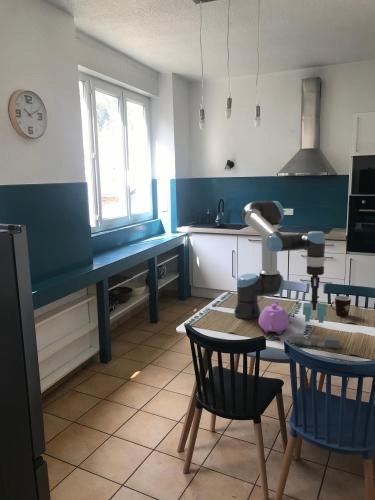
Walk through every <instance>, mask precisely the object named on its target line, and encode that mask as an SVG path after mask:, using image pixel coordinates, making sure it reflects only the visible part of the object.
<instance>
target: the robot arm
mask: <svg viewBox="0 0 375 500" xmlns="http://www.w3.org/2000/svg"><path fill="white" fill-rule="evenodd" d="M284 211H285V210H284V208H283V206H282V204H281V202H279V201H277V200H263V201H262V200H261V201H260V200H259V201H251V202H249V203H247V204H246V205H245V206H244V207H243V209H242V212H241V218H242V220H243V222H244V223H245V225H247V226H249V227H252V229H253V230H255V232H257V233H258V234H259V235H260V236H261V270H260V271H259V272H258V273H259V274H257V273H245V274H242V275H239V276H238V277H237V282H236V289H237V296H236V297H237V300H236V301H237V302H236V303H235V307H234V311H233V314H234V316H235V317H236V316H237V317H236V318H238V317H239V319H241V318H245V319H244V320H255V319H259V317H260V314H261V313H262V311H261V308H260V305H259V297H268V296H269V297H270V296H275V295H276V296H277V295H280V294H281V293H282V292H283V290H284V287H285V280H284V276H283V275H282V274H281V272H280V270H279V269H278V252H287V251H299V250H301V251H302V250H303V251H306V265H307V266H306V274H308V275H309V276H310V288H311V301H310V302H309V303H311V316H310V317H314V318H318V316H317V305H318V304H319V303H318V302H319V300H318V299H319V298H320V296H319V295H318V291H319V290H318V289H319V287H320V280H321V278H320V277H319V276H321V275H322V276H323V275H324V273H325V261H326V260H327V259H326V258H325V251H326V248H325V246H326V238H325V237H326V234H325V232H324V231H320V230H319V231H317V230H316V231H315V230H313V231H311V230H310V231H308V233H305V232H297V233H295V234H282V233H281V232H280V231H279V230H278V227H279V226H280V225H281V224H280V223H281V221H283V219H284V217H285V212H284Z"/></svg>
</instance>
